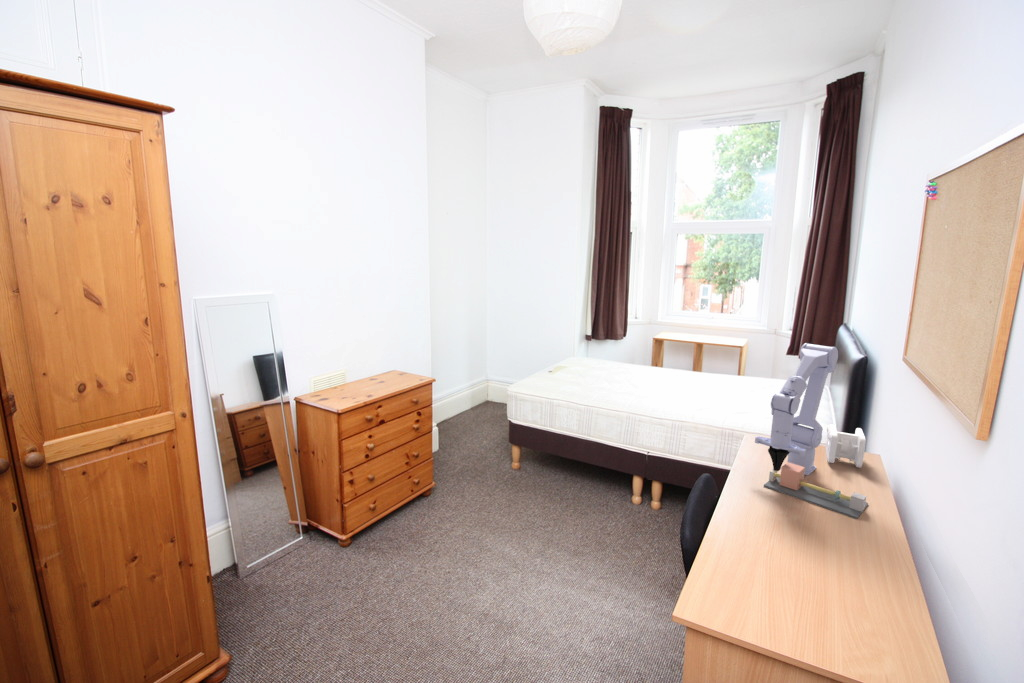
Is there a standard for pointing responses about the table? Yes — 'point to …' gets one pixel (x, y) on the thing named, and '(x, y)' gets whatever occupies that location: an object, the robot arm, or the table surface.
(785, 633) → the table surface
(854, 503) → the cord rig
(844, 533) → the table surface
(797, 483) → the marker sleeve
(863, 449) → the cable organizer
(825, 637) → the table surface
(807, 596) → the table surface
